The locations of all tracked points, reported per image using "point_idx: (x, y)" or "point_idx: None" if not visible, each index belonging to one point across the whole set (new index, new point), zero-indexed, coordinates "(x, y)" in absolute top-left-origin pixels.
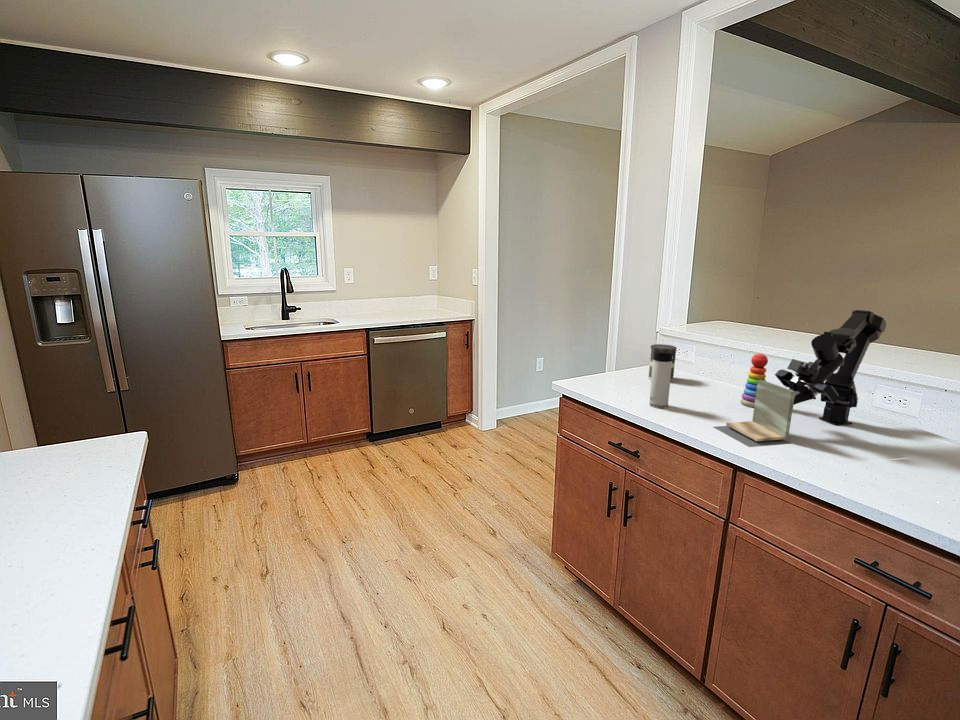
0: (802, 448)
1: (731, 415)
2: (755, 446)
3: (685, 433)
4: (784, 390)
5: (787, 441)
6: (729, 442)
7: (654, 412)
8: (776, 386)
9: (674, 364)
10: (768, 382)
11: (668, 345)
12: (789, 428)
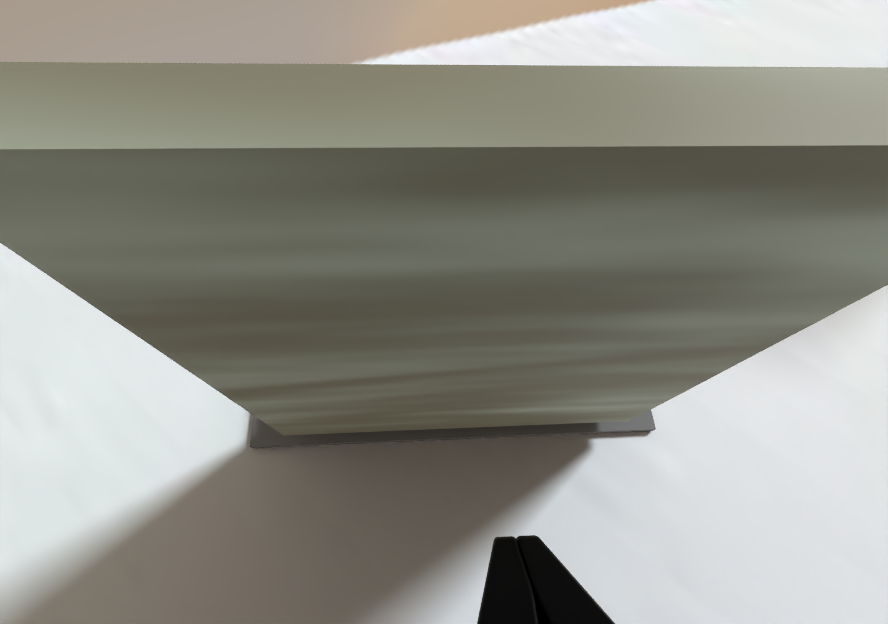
0: (171, 468)
1: (861, 416)
2: None
3: (513, 34)
4: (188, 88)
5: (290, 438)
6: None
7: (807, 47)
8: (466, 66)
9: None
10: (867, 128)
11: None
12: (256, 415)
